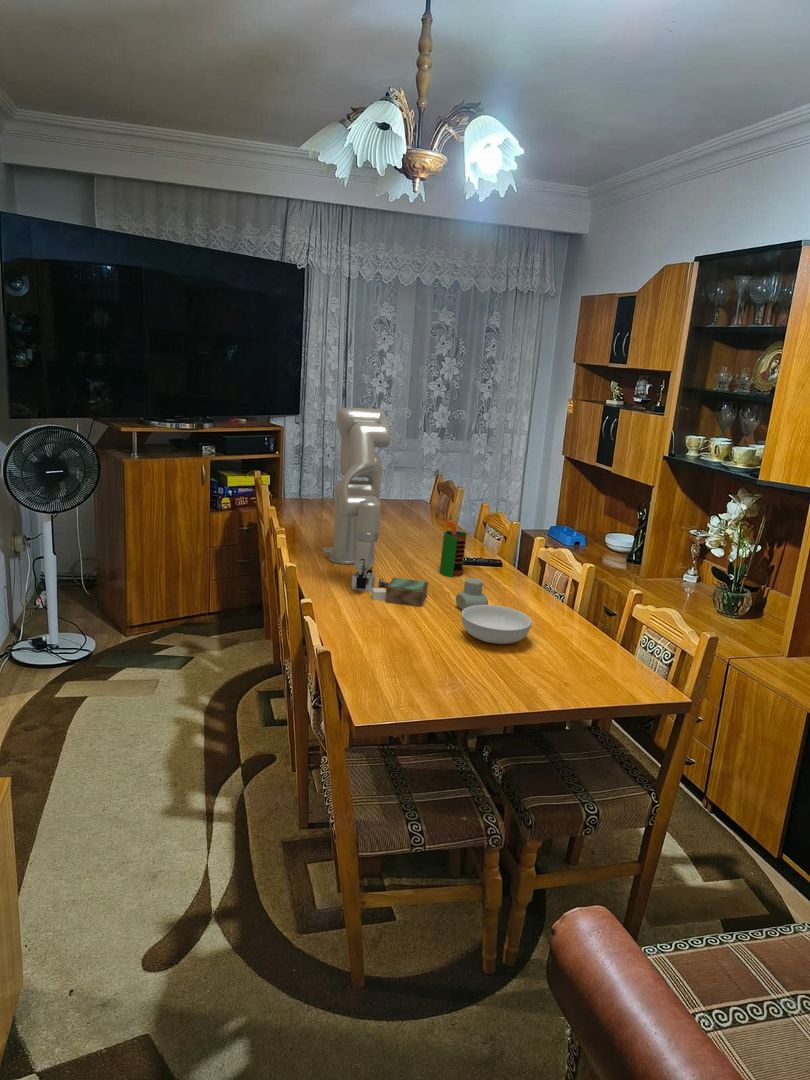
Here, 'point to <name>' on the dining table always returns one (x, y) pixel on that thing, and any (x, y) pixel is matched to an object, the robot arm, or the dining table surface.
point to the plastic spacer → (378, 594)
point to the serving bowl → (495, 623)
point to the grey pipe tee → (471, 594)
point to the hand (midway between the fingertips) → (364, 584)
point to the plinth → (406, 592)
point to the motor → (452, 551)
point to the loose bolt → (383, 583)
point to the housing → (369, 582)
